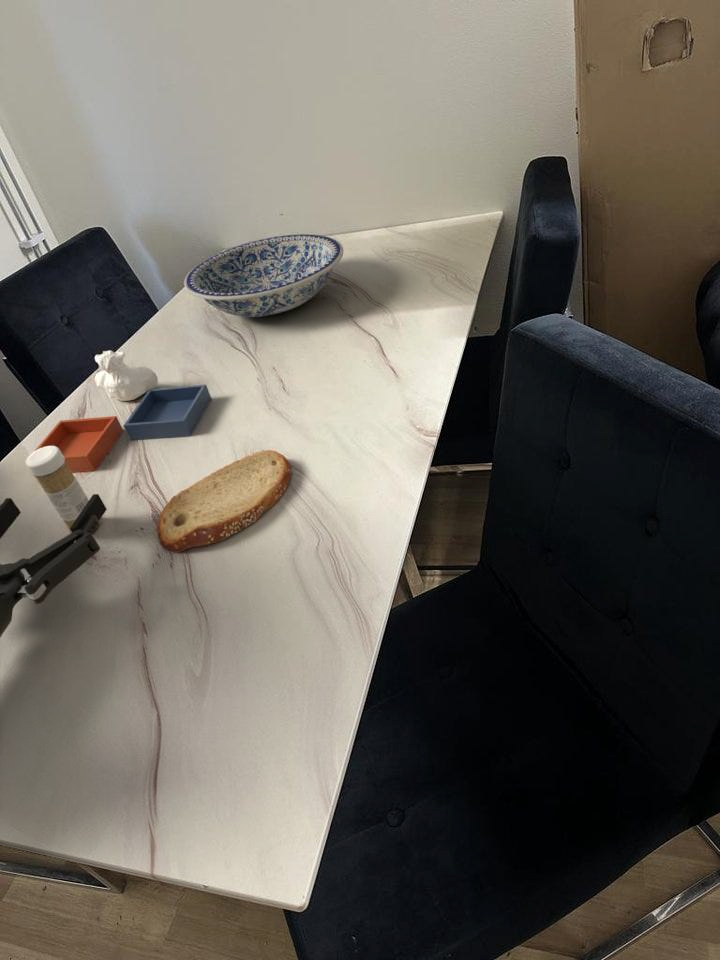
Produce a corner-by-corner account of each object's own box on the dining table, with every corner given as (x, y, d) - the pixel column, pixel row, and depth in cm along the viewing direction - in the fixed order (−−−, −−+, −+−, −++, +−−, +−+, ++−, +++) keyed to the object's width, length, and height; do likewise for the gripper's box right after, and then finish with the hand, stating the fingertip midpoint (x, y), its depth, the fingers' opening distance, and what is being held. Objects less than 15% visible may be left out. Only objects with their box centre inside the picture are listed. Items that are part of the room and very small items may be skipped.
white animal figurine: (108, 409, 128) (71, 389, 117) (110, 372, 130) (74, 349, 119) (165, 403, 125) (132, 382, 115) (166, 365, 127) (134, 341, 116)
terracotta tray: (35, 474, 110) (26, 459, 108) (68, 434, 119) (60, 420, 117) (95, 471, 108) (86, 456, 106) (123, 430, 116) (116, 415, 114)
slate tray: (130, 440, 113) (123, 425, 111) (155, 403, 121) (149, 389, 119) (190, 436, 110) (184, 421, 108) (211, 399, 119) (206, 384, 117)
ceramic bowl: (383, 283, 144) (375, 237, 138) (266, 357, 127) (251, 309, 121) (282, 263, 165) (271, 223, 159) (170, 324, 149) (153, 282, 142)
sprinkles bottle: (90, 513, 99) (46, 441, 90) (108, 522, 96) (65, 448, 88) (64, 533, 96) (17, 460, 88) (82, 542, 94) (35, 468, 85)
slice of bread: (294, 455, 100) (288, 435, 98) (284, 538, 86) (276, 517, 84) (181, 473, 102) (172, 454, 100) (153, 557, 88) (142, 537, 86)
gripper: (-107, 649, 80) (-7, 526, 95) (74, 652, 74) (148, 520, 90) (-148, 609, 75) (-36, 486, 91) (41, 609, 69) (126, 478, 85)
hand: (56, 503), depth 90 cm, fingers open, 13 cm apart
